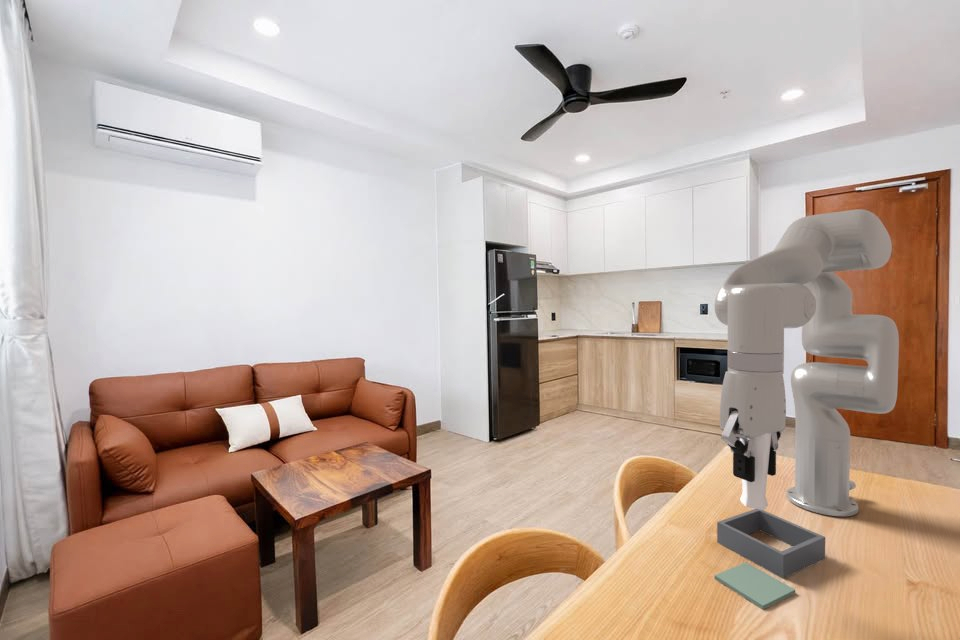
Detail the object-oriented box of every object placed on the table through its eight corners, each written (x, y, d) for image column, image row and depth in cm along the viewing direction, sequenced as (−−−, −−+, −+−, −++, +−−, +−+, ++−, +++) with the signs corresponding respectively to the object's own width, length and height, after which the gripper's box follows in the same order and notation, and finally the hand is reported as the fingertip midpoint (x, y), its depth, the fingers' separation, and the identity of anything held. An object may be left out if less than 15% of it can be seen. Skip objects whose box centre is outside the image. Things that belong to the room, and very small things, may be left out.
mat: (745, 565, 75) (745, 562, 75) (795, 593, 68) (795, 589, 68) (714, 578, 72) (714, 575, 72) (762, 609, 65) (762, 605, 65)
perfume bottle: (777, 512, 67) (778, 416, 66) (746, 509, 68) (746, 416, 67) (764, 498, 72) (765, 409, 71) (735, 496, 72) (735, 408, 72)
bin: (757, 527, 88) (757, 507, 87) (825, 559, 77) (825, 537, 76) (717, 542, 83) (717, 521, 82) (783, 578, 72) (783, 555, 72)
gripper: (764, 355, 75) (764, 458, 76) (696, 364, 68) (697, 477, 69) (812, 361, 68) (811, 474, 69) (742, 371, 62) (742, 496, 62)
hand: (754, 474), depth 69 cm, fingers closed on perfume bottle, 4 cm apart
